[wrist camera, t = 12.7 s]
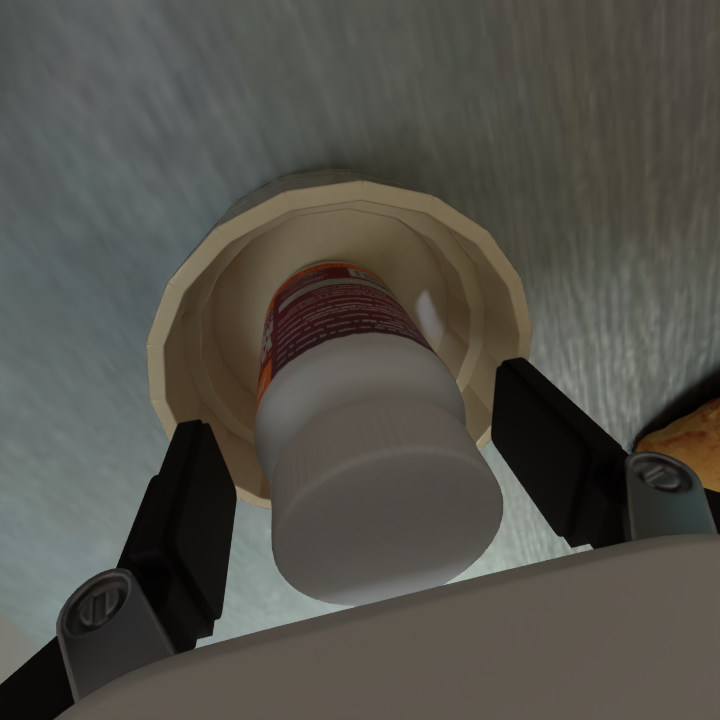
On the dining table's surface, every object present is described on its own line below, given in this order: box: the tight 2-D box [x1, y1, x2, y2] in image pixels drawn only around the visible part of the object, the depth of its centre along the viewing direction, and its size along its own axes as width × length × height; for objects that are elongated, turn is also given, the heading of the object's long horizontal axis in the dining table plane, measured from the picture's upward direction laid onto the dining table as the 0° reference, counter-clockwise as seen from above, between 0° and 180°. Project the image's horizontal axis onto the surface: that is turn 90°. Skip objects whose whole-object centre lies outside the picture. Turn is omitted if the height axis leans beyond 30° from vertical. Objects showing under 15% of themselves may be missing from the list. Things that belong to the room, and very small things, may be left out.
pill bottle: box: [254, 261, 503, 606], centre depth 13 cm, size 6×6×11 cm
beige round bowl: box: [146, 168, 532, 509], centre depth 16 cm, size 13×13×6 cm
